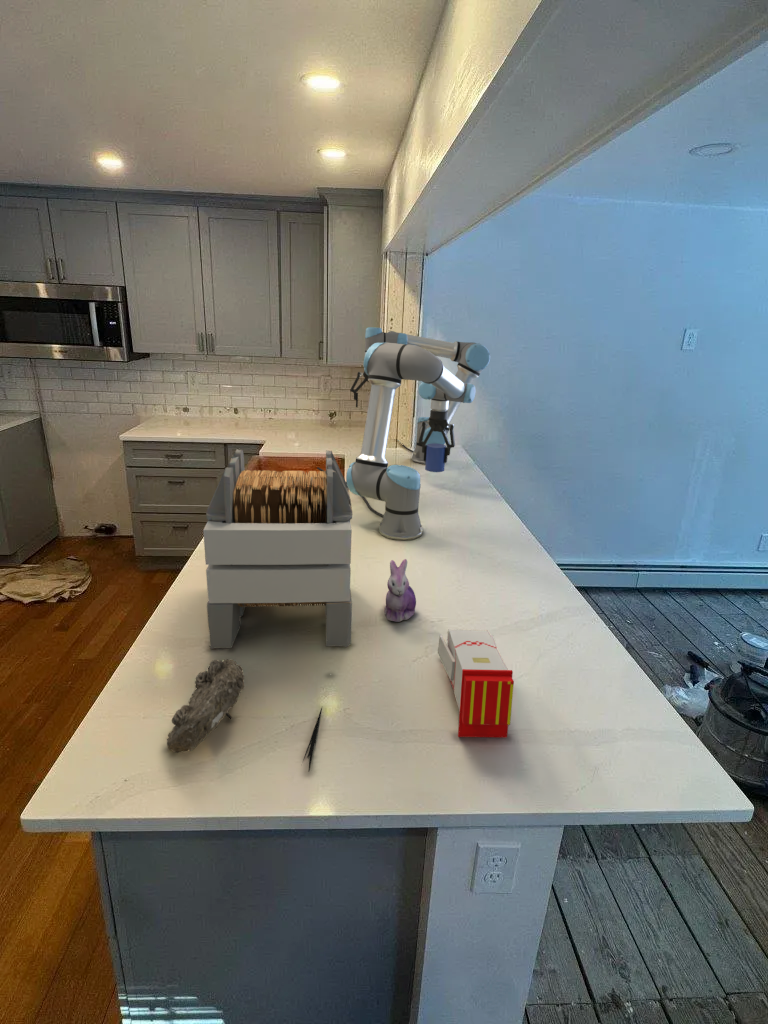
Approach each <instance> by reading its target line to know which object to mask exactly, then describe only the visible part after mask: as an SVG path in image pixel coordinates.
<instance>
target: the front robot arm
mask: <svg viewBox="0 0 768 1024" xmlns="http://www.w3.org/2000/svg"><path fill="white" fill-rule="evenodd" d="M362 366H363V372H364V371H365V373H366V374H367V375H368V381H369V382H368V383H369V384H370V386H371V387H370V392H369V399H368V404H367V411H366V418H365V425H364V431H363V437H362V444H361V449H360V450H361V451H360V454H359V455H357V456H356V457H355V461H353V462H351V463H350V464H349V465H348V466H349V467H348V468H347V471H346V476H345V478H346V480H345V481H346V484H347V486H348V488H349V492H350V493H351V494H353V495H356V496H359V497H361V499H362V500H363V501H364V503H365V504H366V507H367V508H368V509H369V511H371V512H372V513H374V514H375V515H377V516H379V517H381V518H382V519H381V522H379V526H378V533H379V534H380V535H381V536H382V537H385V538H387V539H389V540H395V541H410V540H415V539H418V538H420V537H421V536H422V535H423V531H424V527H423V525H422V524H421V518H420V515H419V507H420V506H419V505H420V496H421V495H420V494H421V486H422V485H421V474H420V472H418V470H416V469H415V468H413V467H411V466H407V465H403V464H401V465H399V464H391V465H389V462H388V460H387V459H386V452H387V451H386V450H387V446H388V440H389V434H390V427H391V421H392V415H393V408H394V402H395V396H396V390H397V389H399V387H401V385H402V380H403V381H407V380H408V381H418V382H421V383H420V384H419V386H418V395H419V396H420V397H421V398H422V399H423V400H429V401H430V411H429V417H430V420H429V422H425V421H424V422H423V423H422V431H421V434H420V438H419V442H418V443H419V444H421V445H422V453H424V461H426V449H427V445H426V443H427V441H428V440H429V438H430V436H431V434H432V433H433V431H434V432H436V431H438V432H441V433H442V435H443V437H444V440H445V445H446V448H445V460H444V463H445V464H447V462H448V457H449V456H450V455H451V450H452V448H454V447H455V446H456V441H455V440H456V439H455V433H454V427H455V424H454V423H450V424H449V423H448V422H447V417H448V411H447V410H448V405H449V401H455V402H461V403H463V404H472V403H473V401H474V400H475V398H476V389H477V388H476V386H475V384H473V383H471V384H469V383H463V382H462V381H461V380H459V379H458V378H457V377H456V376H455V375H456V374H453V372H451V371H450V370H449V369H448V368H446V367H445V366H444V363H443V361H442V360H441V359H440V358H439V356H435V355H434V354H432V353H431V352H429V351H427V350H425V349H423V348H421V347H419V346H416V345H406V344H397V343H387V342H384V343H374V344H373V345H371V347H369V349H368V350H367V352H366V354H365V353H364V358H363V365H362ZM364 367H365V368H364ZM428 424H429V426H430V427H431V429H430V431H429V433H428V435H427V437H426V438H425V440H424V442H423V437H424V433H425V430H426V427H427V426H428ZM447 426H448V428H449V429H450V430H449V436H450V437H448V433H447V434H446V431H445V428H446V427H447ZM449 438H450V440H449ZM316 470H318V471H319V472H320V471H321V472H322V471H323V472H324V471H325V472H326V470H325V469H323V468H321V467H316ZM367 498H368V499H371V500H375V501H380V502H385V504H384V505H385V507H384V508H385V509H384V513H381V512H379V511H377V510H375V509H374V508H373V507H372V506H371V505H370V502H369V501H368V500H367Z"/></svg>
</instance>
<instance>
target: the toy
mask: <svg viewBox="0 0 768 1024" xmlns="http://www.w3.org/2000/svg"><path fill="white" fill-rule="evenodd" d="M446 640H447V643H446V641H445V639H444V636H443V635H442V634H439V637H438V646H437V656H438V657H439V659H440V661H441V663H442V666H443V668H444V670H445V672H446V674H447V677H448V679H449V681H450V684H451V687H452V690H453V693H454V697H455V701H456V705H457V708H458V711H459V714H458V715H459V716H458V730H457V731H458V732H457V737H458V738H508V731H509V726H510V725H511V717H512V707H513V697H514V696H513V695H514V684H515V680H514V679H513V673H514V671H513V670H512V669H508V667H507V665H506V662H505V661H504V659H503V658H502V655H501V653H500V651H499V649H498V647H497V643H496V639H495V637H494V635H493V634H491V632H490V631H489V629H467V628H466V629H465V628H463V629H461V628H460V629H459V628H448V630H447V639H446Z"/></svg>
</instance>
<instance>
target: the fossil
mask: <svg viewBox="0 0 768 1024" xmlns="http://www.w3.org/2000/svg"><path fill="white" fill-rule="evenodd" d="M243 670H244V669H243V667H242V665H240V664H237V662H236V661H235V660H234V659H232V658H231V659H227V658H226V659H224V660H223V661H222V660H217V659H212V660H211V661H210V663H209V665H208V666H207V671H201V672H199V673H198V674H197V675H196V676H195V680H194V684H195V685H194V687H195V689H194V690H193V693H192V694H191V697H190V698H189V700H188V704H184V705H182V706H181V707H180V709H177V710H176V711H175V713H174V715H173V716H172V718H171V723H172V724H173V727H172V730H171V731H170V732H168V734H167V738H166V741H167V742H166V745H167V749H168V750H169V751H173V752H174V753H176V754H178V753H182V752H188V751H189V752H192V751H193V750H195V748H196V747H197V746H199V744H200V743H201V742H203V741H204V740H205V739H206V738H207V737H208V736H209V735H210V734H211V733H212V732H214V730H215V729H217V727H218V726H219V724H220V722H221V721H222V720H223V719H224V718H225V716H226V717H227V719H229V720H233V717H232V715H230V714H229V710H230V709H231V708H234V706H235V704H236V703H237V702H238V699H239V697H240V695H241V693H242V691H243V690H245V689H244V688H245V675H244V671H243Z"/></svg>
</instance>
